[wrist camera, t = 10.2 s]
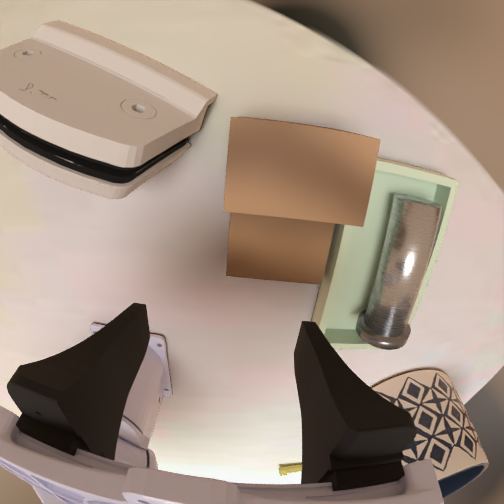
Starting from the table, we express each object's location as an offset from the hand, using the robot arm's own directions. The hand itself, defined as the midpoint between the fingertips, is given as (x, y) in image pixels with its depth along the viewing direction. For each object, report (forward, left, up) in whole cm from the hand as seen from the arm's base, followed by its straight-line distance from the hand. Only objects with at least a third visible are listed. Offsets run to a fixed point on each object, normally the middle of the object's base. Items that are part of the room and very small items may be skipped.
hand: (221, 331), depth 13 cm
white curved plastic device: (+11, +11, -10) cm, 19 cm away
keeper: (+3, -3, -10) cm, 11 cm away
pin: (0, -11, -9) cm, 14 cm away
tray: (0, -11, -10) cm, 15 cm away
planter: (-21, -22, -10) cm, 32 cm away
